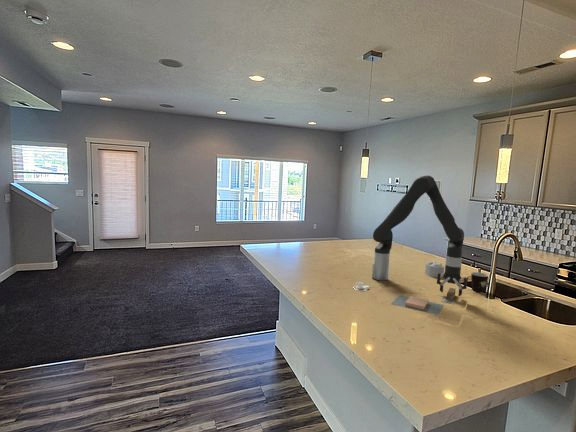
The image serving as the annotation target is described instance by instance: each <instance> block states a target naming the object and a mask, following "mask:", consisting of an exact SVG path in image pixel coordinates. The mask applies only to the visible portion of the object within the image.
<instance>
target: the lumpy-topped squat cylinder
mask: <svg viewBox="0 0 576 432" xmlns="http://www.w3.org/2000/svg"><path fill="white" fill-rule="evenodd" d="M424 267H425V269H424V274H425V275H426V276H428V277H431V278H438V274H439V273H441V274H444V273H445V265H443V264H442V262H438V263H437V262H436V261H431V260H430V261H428V262H425V266H424ZM441 278H444V276H442V277H441ZM441 278H440V279H441Z"/></svg>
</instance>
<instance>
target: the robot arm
mask: <svg viewBox="0 0 576 432" xmlns="http://www.w3.org/2000/svg"><path fill="white" fill-rule="evenodd" d="M425 194H426V195H427V196H428V198H429V199H430V201H431V204H432V209H433V211H434V213H435V216H436V217H437V220H438V221H439V223H440V224H441V226H442V229H443V230H444V233H445V235H446V236H447V238H448V239H449V240H448V246H447V248H446V256H445V257H446V258H445V265H444V274H441V273H439V274H438V277H436V284H437V285H439V292H440V293H443V292H444V284H446V283H448V284H453V285H454V284H456V286H457V287H458V297H461V296H462V294H463V290H466V289H467V287H468V282H467V277H468V276H467V277H466V276H465V277H464V276H461V271H462V254H463V244H464V239H465V232H464V230H463V228H461V227H459V226H458V225H457V224H456V219H455V217H454V215H453V214H452V212H451V211H450V209H449V206H447V204H446V202H445V201H444V198H443V196H442V194H441V191H440V190H439V186H438V185H437V182H436V180H435V178H434V177H433V176H431V175H421V176H419V177H417V178H415V180H414V181H413V183H412V184H411V186H410V187H409V189H408V190H407V192H406V193H405V194H404V195H403V197H402V198H401V199H400V200H399V201H398V202H397V204H396V205H395V206H394V207H393V208H392V210H391V211H390V213H389V214H388V215H387V216H386V217H385V219H384V220H383V221H382V222H381V223H380V224H379V225H378V226H377V227H376V228H375V229H374V231H373V233H372V237H373V238H372V239H373V240H374V241H375V242H377V243H379V244H378V245H377V246H375V248H374V257H373V258H374V259H373V263H372V274H371V278H372V279H374V280H377V281H388V280H389V271H390V269H389V268H390V254H391V249H392V245H393V238H394V237H393V236H394V235H393V231H392V230H393V229H394V228H396V227H397V226H398V225H400V224H401V223H403V222H404V221H405V220H406V219H407V218H408V217H409V216H410V214H411V213H412V212H413V210H414V207H415V205H416V203H417V202H418V201H419V199H420V198H422V196H423V195H425ZM442 276H444V277H442ZM441 277H442V278H444V279H443V281H442V282H441ZM460 281H462V282H463V285H462V284H461V282H460Z"/></svg>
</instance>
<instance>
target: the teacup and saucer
mask: <svg viewBox="0 0 576 432" xmlns="http://www.w3.org/2000/svg"><path fill="white" fill-rule="evenodd" d="M355 286H356V289H355V288H354V287H355ZM355 286H353V288H354V289H353V288H352V289H353V290H355V291H359V292H363V291H364V292H365V291H367V290H368V289H370V286H369V285H364V282H363V281H357V282H356V285H355Z"/></svg>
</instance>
